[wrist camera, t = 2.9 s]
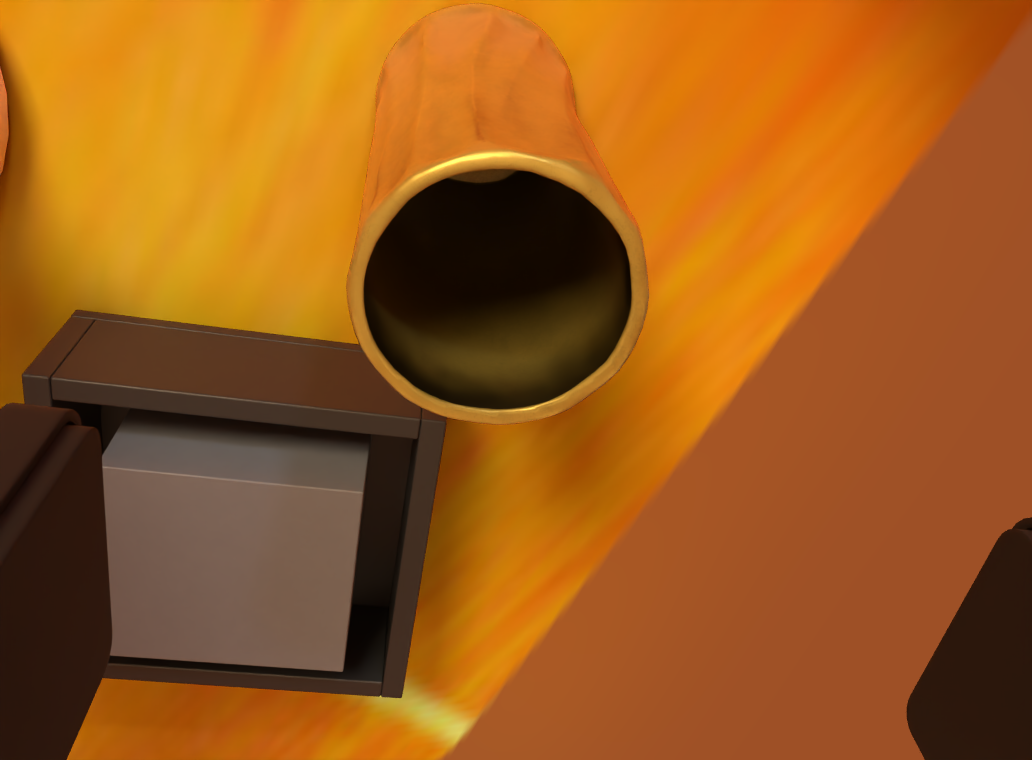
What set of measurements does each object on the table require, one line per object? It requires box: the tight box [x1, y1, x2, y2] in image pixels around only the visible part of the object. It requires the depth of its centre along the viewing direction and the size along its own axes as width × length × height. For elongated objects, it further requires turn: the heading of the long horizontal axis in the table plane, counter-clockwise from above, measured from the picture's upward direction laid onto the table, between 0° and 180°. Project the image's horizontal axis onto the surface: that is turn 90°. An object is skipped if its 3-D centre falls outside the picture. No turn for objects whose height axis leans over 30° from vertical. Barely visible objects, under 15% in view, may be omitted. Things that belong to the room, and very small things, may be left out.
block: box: [102, 408, 372, 672], centre depth 31 cm, size 8×8×5 cm
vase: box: [346, 4, 649, 425], centre depth 21 cm, size 6×6×14 cm
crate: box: [22, 310, 447, 698], centre depth 32 cm, size 13×13×4 cm
